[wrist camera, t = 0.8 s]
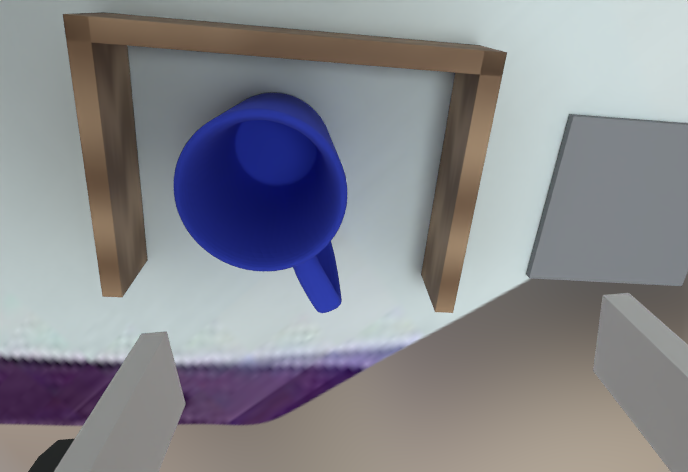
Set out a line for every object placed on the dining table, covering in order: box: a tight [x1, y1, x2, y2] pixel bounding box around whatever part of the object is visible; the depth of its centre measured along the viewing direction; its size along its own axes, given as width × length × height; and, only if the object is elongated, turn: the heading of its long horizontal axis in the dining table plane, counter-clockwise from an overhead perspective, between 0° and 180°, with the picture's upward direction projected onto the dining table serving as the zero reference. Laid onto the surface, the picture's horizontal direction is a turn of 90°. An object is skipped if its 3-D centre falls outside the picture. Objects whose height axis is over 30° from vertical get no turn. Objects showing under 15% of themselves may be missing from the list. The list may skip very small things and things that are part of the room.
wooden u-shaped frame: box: [63, 13, 507, 313], centre depth 31 cm, size 16×22×5 cm
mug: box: [174, 93, 347, 313], centre depth 29 cm, size 8×12×10 cm
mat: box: [526, 114, 688, 286], centre depth 35 cm, size 12×12×1 cm
